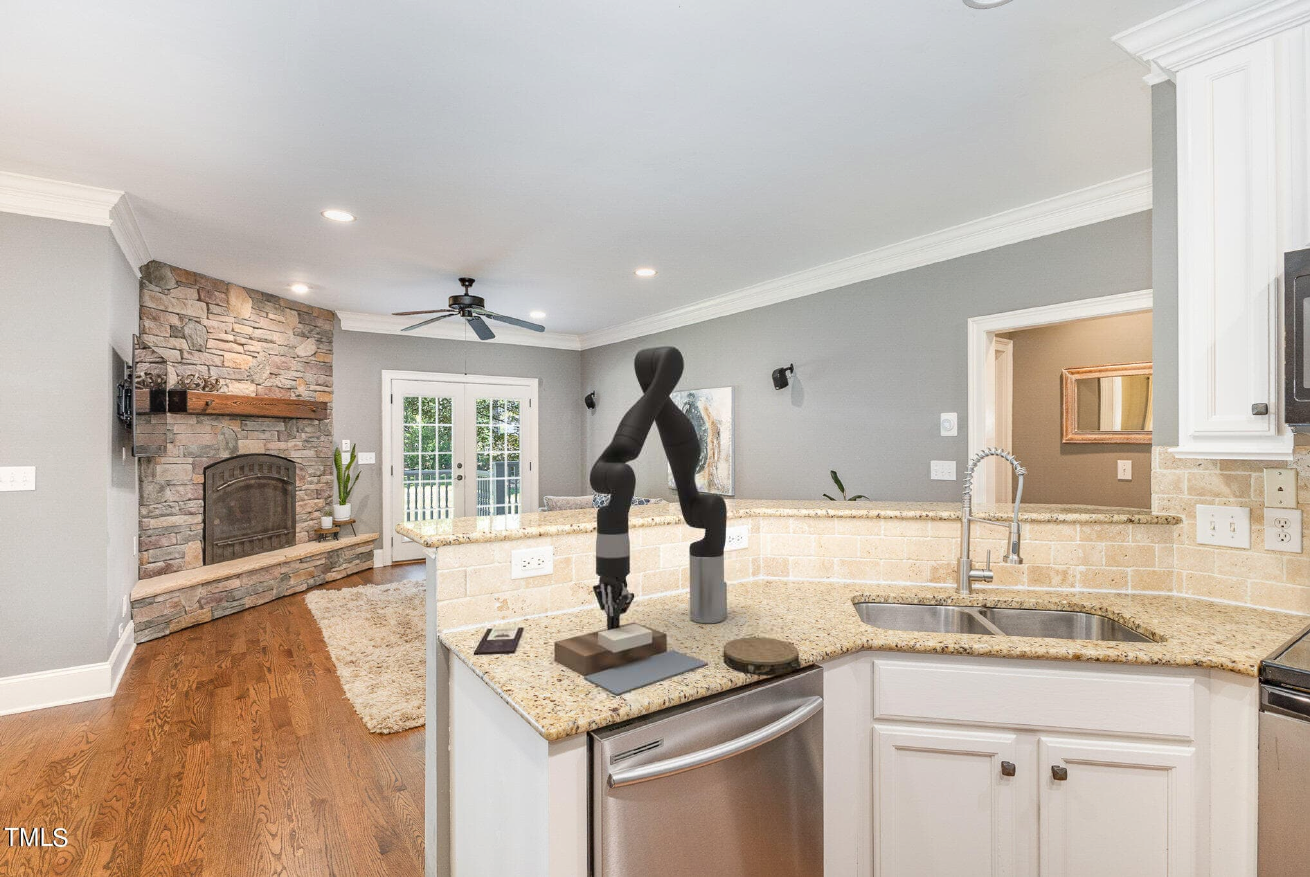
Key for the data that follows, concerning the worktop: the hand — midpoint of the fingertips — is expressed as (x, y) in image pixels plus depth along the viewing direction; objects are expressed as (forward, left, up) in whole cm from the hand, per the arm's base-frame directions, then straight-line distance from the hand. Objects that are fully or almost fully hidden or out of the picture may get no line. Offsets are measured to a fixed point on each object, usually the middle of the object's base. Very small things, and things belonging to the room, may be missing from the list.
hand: (613, 631), depth 134 cm
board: (0, -1, -6) cm, 6 cm away
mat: (0, +12, -6) cm, 13 cm away
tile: (0, +5, 0) cm, 5 cm away
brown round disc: (-22, +23, -6) cm, 33 cm away
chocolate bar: (+14, -27, -6) cm, 31 cm away
